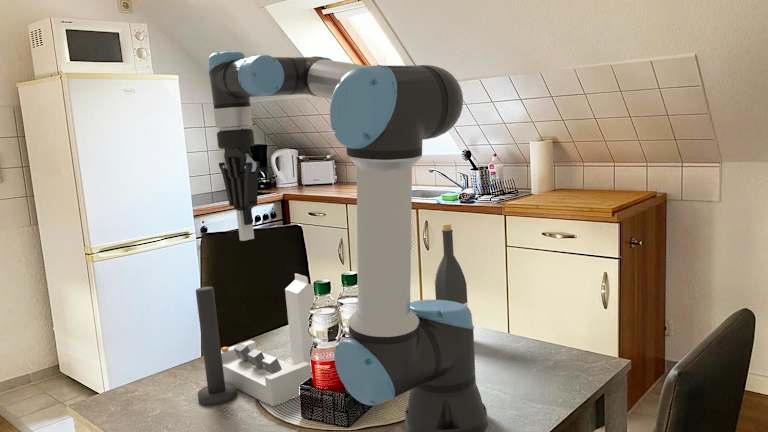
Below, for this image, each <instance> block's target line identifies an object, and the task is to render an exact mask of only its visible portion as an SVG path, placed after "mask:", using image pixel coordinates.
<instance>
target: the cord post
mask: <svg viewBox="0 0 768 432" xmlns="http://www.w3.org/2000/svg"><path fill="white" fill-rule="evenodd" d="M195 296H196V297H195V298H196V306H197V313H198V320H199V329H200V335H201V336H200V337H201V344H202V352H203V358H204V359H203V361H204V368H205V369H204V370H205V376H206V386H204V387H202V388H200V390H198V392H197V398H198V403H199V404H201V405H202V406H208V407H209V406H212V407H213V406H218V405H222V404H226V403H229V402H230V401H232V400H234V399H235V398H236V397H237V394H238V393H237V388H236V386H235V385H234V384H232V383H226V382H225V381H224V372H223V364H222V356H221V348H222V347H221V340H220V333H219V325H218V316H217V315H218V314H217V308H216V300H215V290H214V287H213V286H203V287H199V288H196V289H195Z"/></svg>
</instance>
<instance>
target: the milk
mask: <svg viewBox="0 0 768 432" xmlns="http://www.w3.org/2000/svg"><path fill="white" fill-rule="evenodd" d="M284 293H285V302H286V310H287V312H286V313H287V321H288V322H287V323H288V332H289V333H288V334H289V342H290V352H291V361H292V365H294V366H295V365H298V364H300V363H303V362H307V363H309V364H310V348H311V345H312V341H313V340H312V338H311V337H310V335H309V333H308V317H309V310H310V307H311V305H312V304H313V301H314V292H313V284H310V283H309V278H308V276H305V275H302V274H299V273H294V280H293V281H292V282H291V283H290V284H289V285H287V287H285V288H284ZM310 367H311V366H310Z"/></svg>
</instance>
